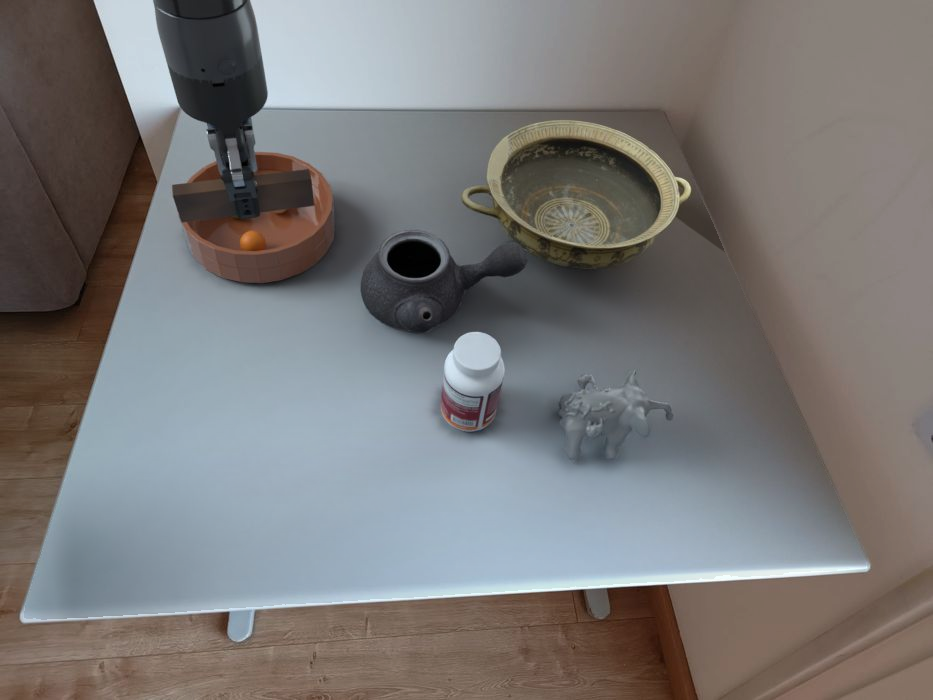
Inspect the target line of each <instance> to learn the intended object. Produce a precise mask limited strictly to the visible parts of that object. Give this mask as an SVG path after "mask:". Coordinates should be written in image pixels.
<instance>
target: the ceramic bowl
mask: <svg viewBox="0 0 933 700" xmlns="http://www.w3.org/2000/svg"><path fill="white" fill-rule="evenodd" d="M486 182H487V184H485V185H483V184H482V185H474V186H469V187H468V188H466V189H464V190H463V191H462V193H461V201H462V204H463V205H464V206H465V207H466V208H468V209H469V210H471V211H473V212H475V213H478V214H481V215H484V216H488V217H492V218H494V219H497V220H498V222H499V224H500V225H501V227H502V228H503V230H504V231H505V232H506V234H507V235H508V237H510V238H511V239H512V241H513V242H516V243H518V244H520V245H521V246H522V247H523V249H524V251H527V252H528V253H530V254H531V255H533V256H535V257H537V258H539V259H541V260H544V261H547V262H548V263H552V264H555V265H559V266H562V267H566V268H574V269H582V270H583V269H584V270H585V269H586V270H587V269H588V270H592V269H593V270H594V269H603V268H610V267H614V266H618V265H621V264H625V263H626V262H629V261H631V260H633V259H634V258H636V257H638V256H640V255H641V254H642V253H643V252H645V251H646V250H647V249H648V248H649V247H651V245H652V244H653V243H654V241H655V240H656V238H657V237H658V236H659V234H660V233H661V232H663V231H664V230H666V228H667V227H669V225H670V224H671V223H672V222H673V220H674V219H675V218H676V216H677V214H678V212H679V209H680V208H679V207H680V205H681V204H682V203H684V202H686V201H687V200H688V198H689V197H690V196H691V192H692V187H691V185H690V183H689V182H688V181H687V180H686V179H684V178H682V177H677V176H675V174H674V173H673V172H672V170H671V169H670V167H669V166H668V165H667V163H666V162H665V161H664V160H663V159H662V158H661V157H660V156H659V155H658V153H656V152H655V151H654V150H652V149H650V148H649V146H647V145H646V144H644V143H643V142H641V141H640V140H638V139H636V138H634V137H633V136H630V135H629V134H626V133H624V132H622V131H620V130H617V129H613V128H612V127H609V126H606V125H602V124H599V123H595V122H589V121H581V120H573V119H555V120H546V121H540V122H535V123H531V124H527V125H525V126H522V127H520V128H518V129H516V130H514V131H512V132H510V133H508V135H506V136H504V137H503V138H502V139H501V140H500V141H499V142H498V143H497V144H496V145H495V147H494V148H493V150H492V152H491V153H490V157H489V159H488V163H487V170H486ZM679 187H680V188H682V190H683V193H682V194H681V195H680V191H679ZM475 194H476V195H477V194H487V195H489V196H491V198H492V204H493V207H488V206H485V205H482V204H479V203H477V202H474V201H473V200H472V199H470V197H471V196H472V195H475Z"/></svg>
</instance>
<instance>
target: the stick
mask: <svg viewBox="0 0 933 700" xmlns="http://www.w3.org/2000/svg"><path fill="white" fill-rule="evenodd" d="M254 180H255V181H256V182H257V186H256V188H257V190H258V194H257V200H258V205H259V210H260V213H261V212H269V211H277V210H285V209H293V208H301V207H309V206H314V197H313V188H312V179H311V175H310V171H309V169H305V170H297V171H288V172H279V173H270V174H262V175H254ZM171 191H172V198H173V201H174V205H175V207H176V211H177V213H178V214H177V215H178V218H179V217H180V219H179V221H180V220H181V222H190V221H198V220H205V219H213V218H221V217H229V216H237V213H236V209H235V205H234V201H230V198H229V197H228V194H227V190H226V187H225V185H224V181H222V179H218V180H209V181H200V182H192V183H187V182H184V183H174V184H171ZM181 222H180V223H181Z"/></svg>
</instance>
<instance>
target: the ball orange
mask: <svg viewBox="0 0 933 700" xmlns="http://www.w3.org/2000/svg"><path fill="white" fill-rule="evenodd" d="M240 246H241V248H242V250H243V251H261V250H264V249H265V246H266V241H265V238H264V237H263V235H262V234H260V233H259V232H257V231H248V232H246V233H245V234H243V236H242V237H241V240H240Z"/></svg>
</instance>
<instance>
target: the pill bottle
mask: <svg viewBox="0 0 933 700" xmlns="http://www.w3.org/2000/svg"><path fill="white" fill-rule="evenodd" d="M505 369H506V368H505V363H504V360H503V357H502V350H501V345H500V344H499V343H498V341H497V340H496V339H495V338H494V337H493V336H491V335H489V334H487V333H485V332H481V331H470V332H466V333H464V334H463V335H461V336H459V337H458V338H457V339H456V341H455V343H454V345H453V349H452V350H450V352H449V353H448V354H447V356H446V358H445V361H444V365H443V375H442V384H441V385H442V386H441V396H440V411H441V414H442V417H443V419H444V420H445V421H446V423H448V424H449V426H451V427H452V428H455V429H456V430H459V431H462V432H466V433H468V432H469V433H470V432H471V433H472V432H477V431H478V432H479V431H481V430H483V429H485V428H487V427H488V426H489V425H490V424H491V423H492V422H493V421H494V419H495V417H496V414H497V410H498V406H499V400H500V396H501V392H502V386H503V382H504V378H505V372H506V371H505Z"/></svg>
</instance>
